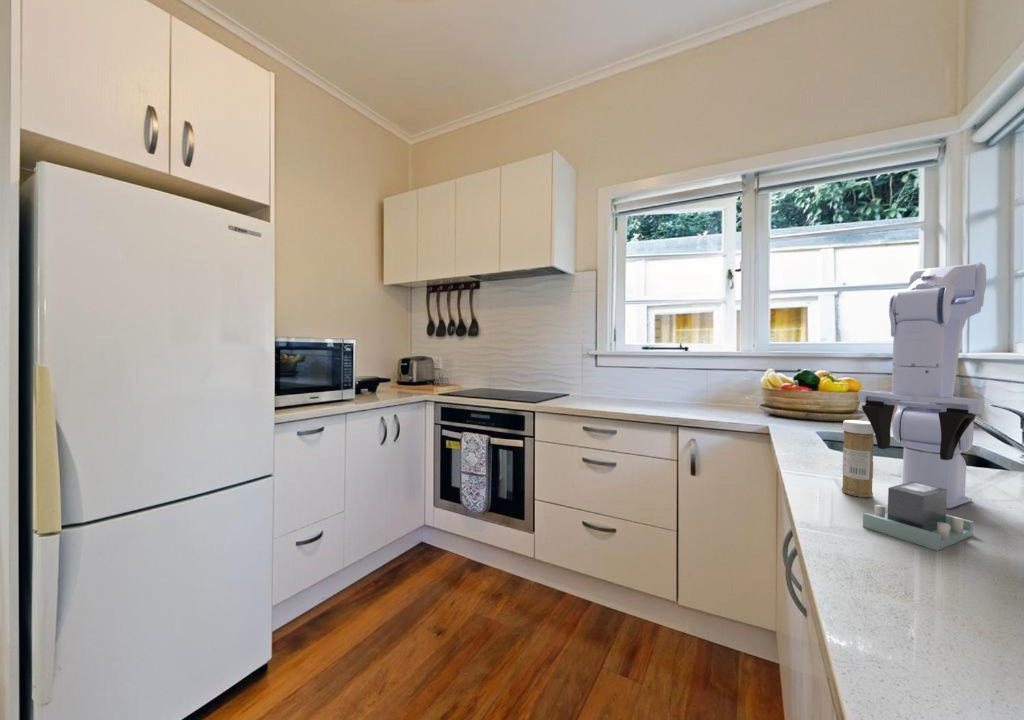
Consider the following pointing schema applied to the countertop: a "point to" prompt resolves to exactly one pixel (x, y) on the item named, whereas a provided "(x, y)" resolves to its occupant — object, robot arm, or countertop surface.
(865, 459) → the sprinkles bottle
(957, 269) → the robot arm
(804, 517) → the countertop surface
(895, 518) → the dark grey block
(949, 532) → the tray
